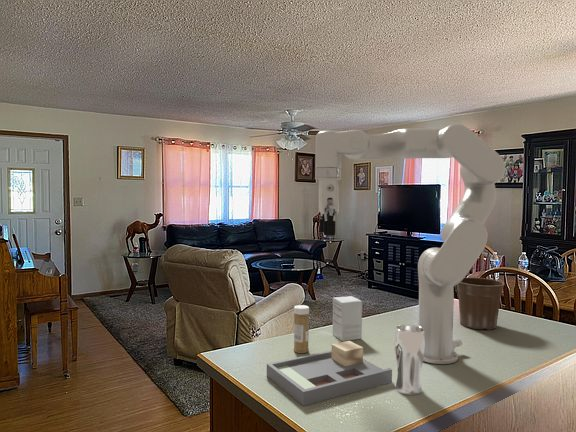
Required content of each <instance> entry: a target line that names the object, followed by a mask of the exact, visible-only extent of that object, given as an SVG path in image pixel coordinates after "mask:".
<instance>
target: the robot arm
mask: <svg viewBox="0 0 576 432" xmlns="http://www.w3.org/2000/svg"><path fill="white" fill-rule="evenodd" d="M314 155H315V159H314V161H315V163H314V164H315V166H314V180H315V181H316V180H317V181H318V212H319V213H320V217H319V232H320V233H323V236H333V237H334V236H335V235H336V215H338V214H339V213H340V187H339V181H342V156H345V157H346V158H348V159H349V160H383V159H385V160H387V159H389V160H390V159H393V160H406V159H412V160H413V159H450V158H453V159H454V160H456V162H457V163H458V164H460V170H459V171H460V172H459V173H460V178H461V179H462V183H463V184H464V192H463V196H462V198H461V199H460V202H459V203H458V205H457V206H456V207H455V209H454V210H453V212H452V214H451V215H450V217H449V218H448V219H447V221H446V222H445V223H444V225H443V226H442V229H441V232H440V234H441V236H440V237H441V239H442V241H443V243H442V245H441V247H430V248H427V249H426V250H424V251H423V252H422V253H421V255H420V256H419V259H418V262H417V275H418V276H417V277H418V316H417V317H418V319H417V321H418V322H417V323H418V324H417V326H420V327H422V328H423V329H424V336H425V352H424V359H423V363H424V362H426V363H429V364H435V365H449V364H453V363H456V362H457V361H458V360H459V354H458V353H457V352H456V351H455V349H456V348H458V347H459V348H460V347H462V346H463V341H462V340H461V339H455V340H454V337H453V336H454V332H453V331H454V305H455V303H454V302H455V292H454V291H455V290H454V288H455V286H457V284H459V283H460V282H461V281H462V280H463V279H464V278H465V277H466V276H467V275H468V273H469V272H470V271H471V269H472V268H473V266H474V264H475V263H476V262H477V261H478V259H479V257H480V255H481V254H482V253H483V251H484V250H485V248H486V245H487V242H488V236H489V234H488V230H487V228H486V225H485V223H486V221H487V220H488V218H489V216H490V215H491V213H492V211H493V208H494V206H495V204H496V201H497V191H496V190H497V189H496V185H495V184H496V183H498V182H500V180H502V179H503V178H504V176H505V173H506V163H505V161H504V159H503V158H502V156H501V155H500V154H499V153H498V152H497V151H496V150H494V148H492V147H491V146H490V145H489V144H487V143H486V142H485V141H484V140H483V139H482V138H481V137H480V135H477V134H476V133H475V132H474V131H473V130H471V129H470V128H469V127H468V126H465V125H464V124H461V123H453V124H450V125H447V126H446V127H423V128H421V127H419V128H418V127H415V128H410V127H409V128H407V127H406V128H400V129H396V130H393V131H391V132H385V133H377V134H375V133H374V134H367V133H366V132H365V131H363V130H360V129H351V130H344V131H343V130H342V131H336V130H323V131H319V132H318V133H316V136H315V152H314Z"/></svg>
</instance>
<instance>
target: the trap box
mask: <svg viewBox="0 0 576 432" xmlns="http://www.w3.org/2000/svg"><path fill="white" fill-rule="evenodd" d="M266 377H268V378H269V379H270V380H271V381H272V382H274V383H275V384H276V385H277V386H278V387H279V388H280V389H282V390H283V391H284V392H286V393H287V394H288V395H289V396H291V398H293V399H294V400H295V401H296V402H298V403H299V404H300V405H301V406H303V407H305V406H309V405H313V404H316V403H320V402H323V401H328V400H331V399H334V398H338V397H342V396H346V395H350V394H352V393H357V392H360V391H363V390H368V389H370V388H374V387H375V388H376V387H378V386H384V385H386V384H390V383H393V369H392V368H390V367H388V368H384V369H383V368H381V367H379V366H377V365H375V364H373V363H371V362H370V361H367V360H365V359H364V358H363V362H362V363H357V364H353V365H349V366H343V365H342V364H340V363H338V362H336V361H335V360H333V359H332V349H331V350H326V351H321V352H316V353H312V354H307V355H302V356H298V357H293V358H289V359H288V358H287V359H283V360H279V361H274V362H273V361H272V362H269V363H266Z"/></svg>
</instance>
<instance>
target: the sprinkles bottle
mask: <svg viewBox="0 0 576 432" xmlns="http://www.w3.org/2000/svg"><path fill="white" fill-rule="evenodd" d="M293 313H294V314H293V315H294V316H293V317H294V319H293V344H294V345H293V347H294V348H293V351H294V352H295V353H296V354H306V353H308V352H309V349H310V348H309V340H310V339H309V334H310V333H309V330H310V329H309V328H310V327H309V315H310V306H308V305H305V304H299V305H294V307H293Z"/></svg>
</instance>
